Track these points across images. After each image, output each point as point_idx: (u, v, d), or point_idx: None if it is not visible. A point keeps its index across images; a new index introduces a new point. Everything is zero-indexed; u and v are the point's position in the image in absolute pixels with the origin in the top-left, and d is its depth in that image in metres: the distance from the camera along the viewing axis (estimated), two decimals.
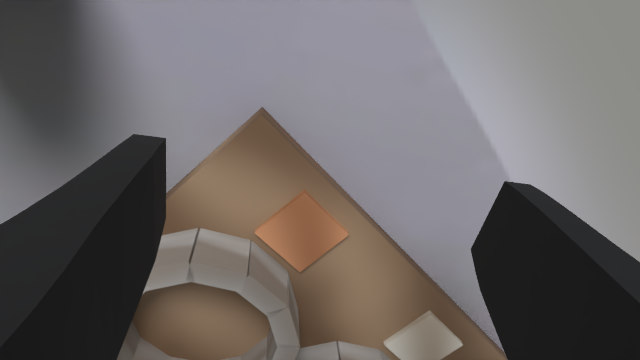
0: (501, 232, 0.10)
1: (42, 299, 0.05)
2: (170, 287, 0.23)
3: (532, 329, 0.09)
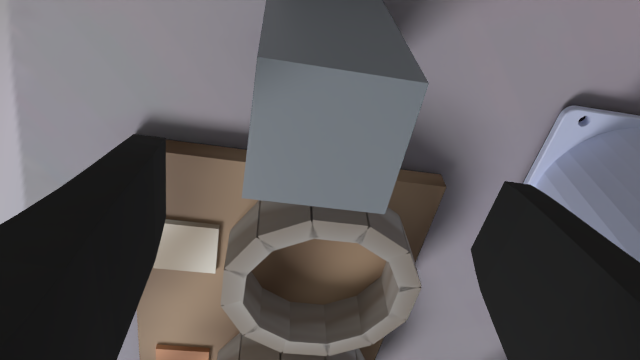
0: (501, 232, 0.10)
1: (42, 299, 0.05)
2: None
3: (532, 329, 0.09)
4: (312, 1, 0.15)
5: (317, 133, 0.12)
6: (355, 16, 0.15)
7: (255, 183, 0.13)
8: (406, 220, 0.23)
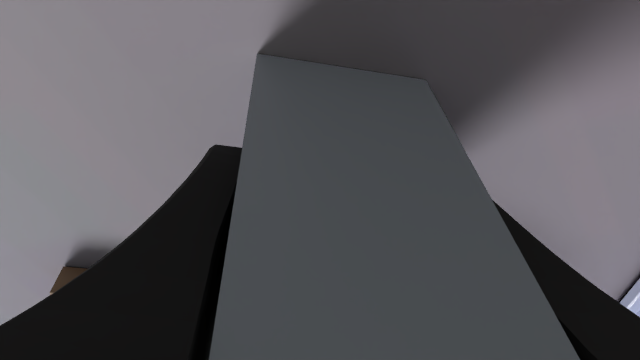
0: None
1: (197, 311, 0.05)
2: None
3: None
4: (326, 119, 0.09)
5: None
6: (403, 153, 0.08)
7: None
8: None
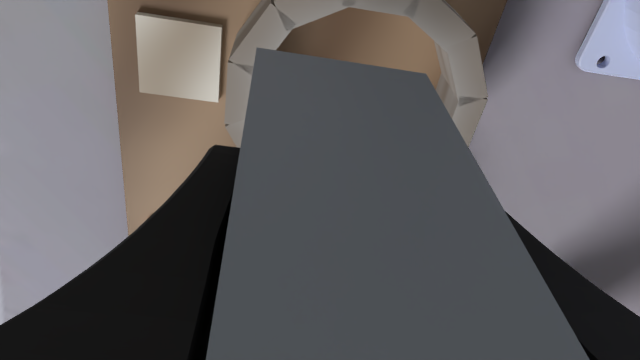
0: None
1: (197, 311, 0.05)
2: None
3: None
4: (326, 111, 0.09)
5: None
6: (404, 145, 0.08)
7: None
8: (465, 21, 0.18)
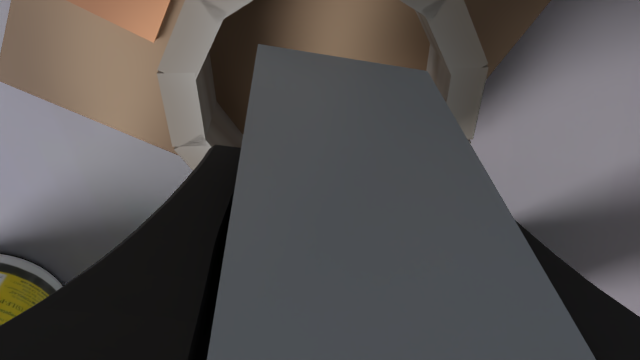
0: None
1: (197, 311, 0.05)
2: None
3: None
4: (327, 108, 0.09)
5: None
6: (406, 141, 0.08)
7: None
8: None
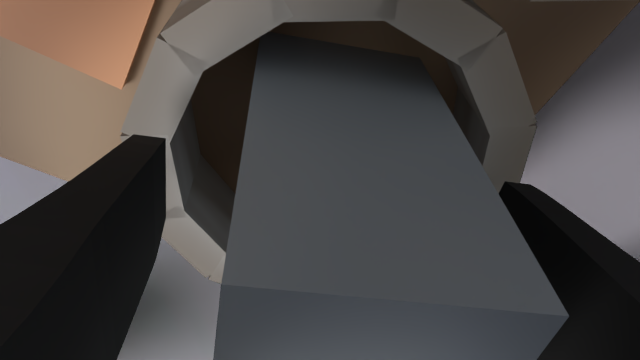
0: None
1: (42, 299, 0.05)
2: None
3: None
4: (325, 87, 0.09)
5: None
6: (396, 117, 0.09)
7: None
8: None
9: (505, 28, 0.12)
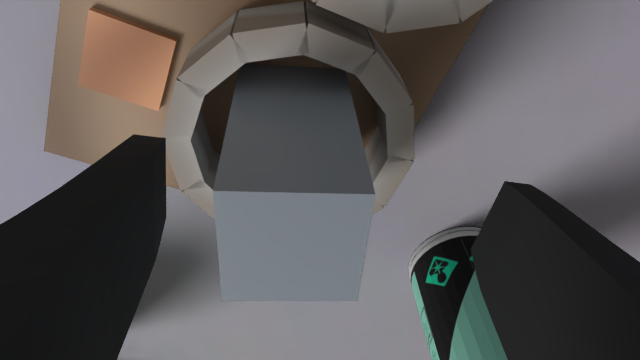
0: (501, 232, 0.10)
1: (42, 299, 0.05)
2: None
3: (532, 329, 0.09)
4: (276, 96, 0.16)
5: (280, 244, 0.13)
6: (316, 109, 0.15)
7: (232, 288, 0.14)
8: None
9: (397, 43, 0.18)
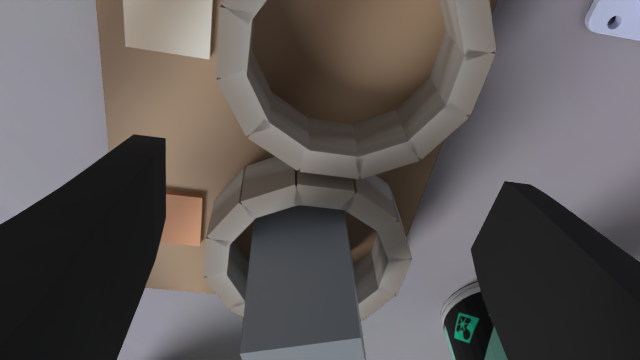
0: (501, 232, 0.10)
1: (42, 299, 0.05)
2: None
3: (532, 329, 0.09)
4: (285, 236, 0.20)
5: None
6: (316, 246, 0.19)
7: None
8: None
9: None
